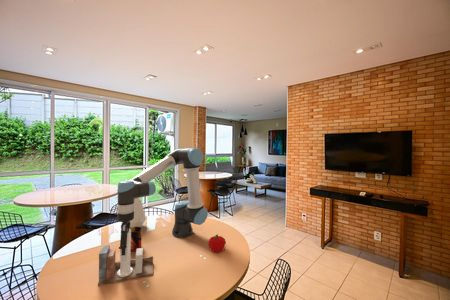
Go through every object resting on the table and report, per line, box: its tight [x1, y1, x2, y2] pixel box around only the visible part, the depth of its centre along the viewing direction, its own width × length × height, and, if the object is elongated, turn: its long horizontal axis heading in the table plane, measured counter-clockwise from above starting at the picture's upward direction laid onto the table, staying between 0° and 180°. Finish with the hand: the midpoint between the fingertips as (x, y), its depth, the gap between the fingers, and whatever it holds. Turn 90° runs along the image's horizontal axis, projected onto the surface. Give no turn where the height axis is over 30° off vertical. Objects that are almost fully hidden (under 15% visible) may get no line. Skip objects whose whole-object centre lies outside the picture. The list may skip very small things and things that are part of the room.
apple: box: [207, 234, 226, 254], centre depth 126 cm, size 11×11×10 cm
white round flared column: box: [117, 228, 133, 277], centre depth 100 cm, size 7×7×25 cm
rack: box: [97, 244, 154, 287], centre depth 101 cm, size 24×11×14 cm, turn 110°
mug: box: [130, 227, 142, 253], centre depth 126 cm, size 10×14×12 cm
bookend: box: [135, 247, 144, 274], centre depth 103 cm, size 3×8×9 cm, turn 20°
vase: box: [121, 197, 147, 228], centre depth 159 cm, size 18×17×23 cm
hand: (125, 253), depth 101 cm, fingers open, 13 cm apart
